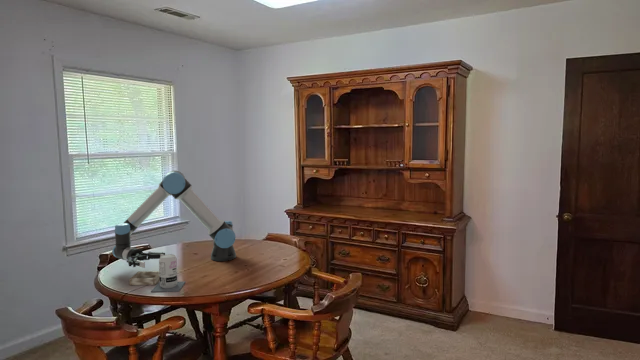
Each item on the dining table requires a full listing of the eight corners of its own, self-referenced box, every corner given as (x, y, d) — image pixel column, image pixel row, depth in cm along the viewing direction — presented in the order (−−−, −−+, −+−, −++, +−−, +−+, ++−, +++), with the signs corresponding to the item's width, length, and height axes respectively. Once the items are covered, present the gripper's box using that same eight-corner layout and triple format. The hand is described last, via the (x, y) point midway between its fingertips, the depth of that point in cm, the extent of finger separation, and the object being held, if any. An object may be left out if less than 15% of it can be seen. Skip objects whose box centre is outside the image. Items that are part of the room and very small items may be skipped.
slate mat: (185, 282, 215) (185, 281, 215) (178, 291, 202) (178, 290, 202) (159, 283, 214) (159, 282, 214) (151, 292, 201) (150, 291, 201)
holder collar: (163, 276, 225) (163, 270, 225) (156, 284, 212) (155, 278, 212) (138, 276, 224) (138, 271, 224) (129, 285, 211) (129, 279, 211)
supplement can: (162, 283, 212) (161, 254, 211) (179, 283, 213) (178, 253, 211) (157, 289, 204) (156, 258, 203) (175, 288, 205) (174, 258, 203)
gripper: (154, 256, 236) (177, 263, 223) (110, 267, 216) (133, 275, 203) (154, 243, 235) (177, 249, 223) (110, 253, 215) (133, 260, 203)
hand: (156, 261), depth 213 cm, fingers open, 13 cm apart
